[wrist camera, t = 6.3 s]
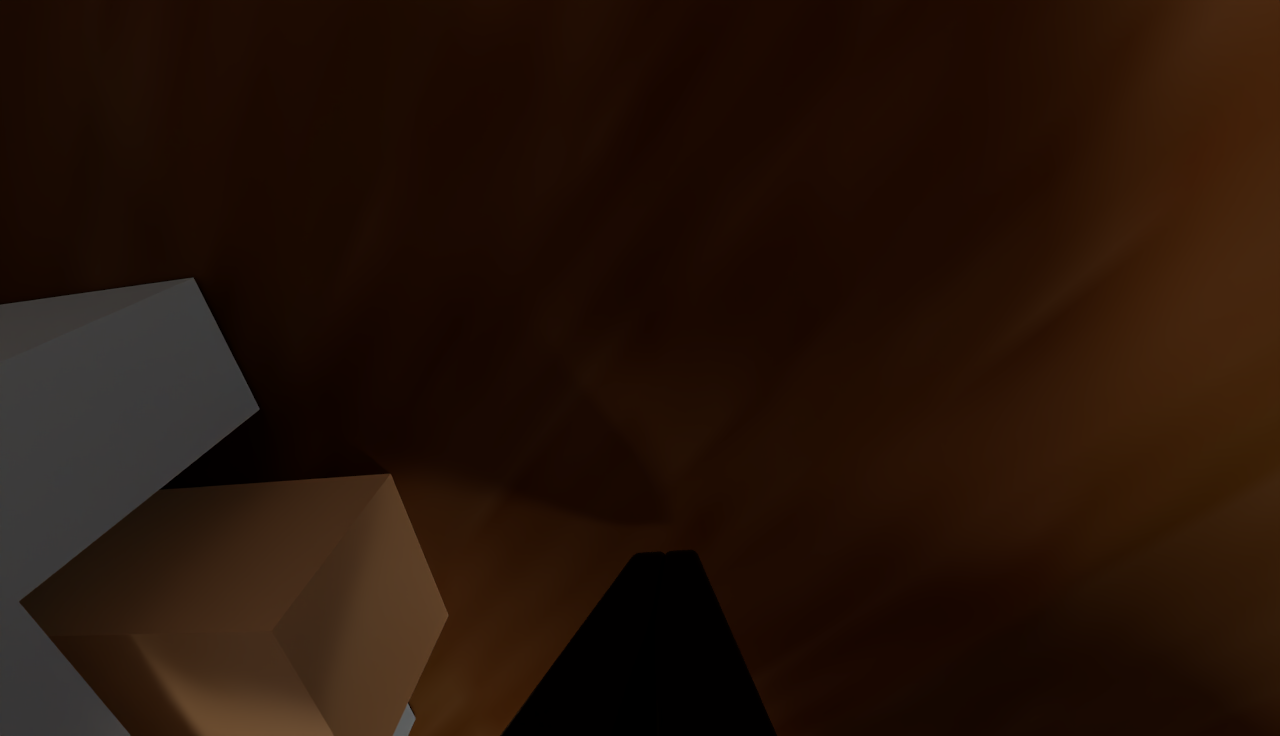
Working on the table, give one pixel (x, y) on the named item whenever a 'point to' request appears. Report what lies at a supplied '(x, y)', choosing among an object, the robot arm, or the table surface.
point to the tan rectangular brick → (251, 610)
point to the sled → (95, 458)
